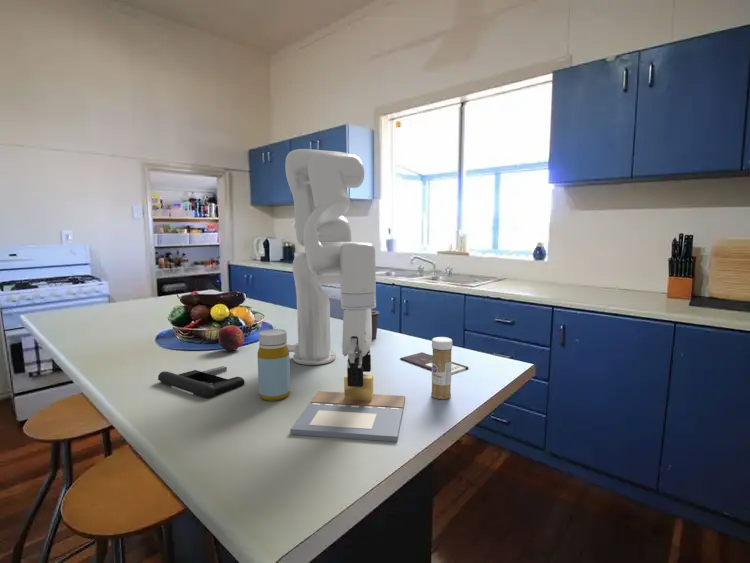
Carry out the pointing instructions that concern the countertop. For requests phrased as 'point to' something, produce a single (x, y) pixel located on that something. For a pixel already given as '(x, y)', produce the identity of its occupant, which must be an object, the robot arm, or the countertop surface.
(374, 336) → the coffee cup
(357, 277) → the robot arm
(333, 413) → the ticket
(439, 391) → the sprinkles bottle
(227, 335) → the fruit
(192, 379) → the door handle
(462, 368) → the chocolate bar
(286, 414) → the countertop surface
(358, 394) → the stub
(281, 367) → the bottle
